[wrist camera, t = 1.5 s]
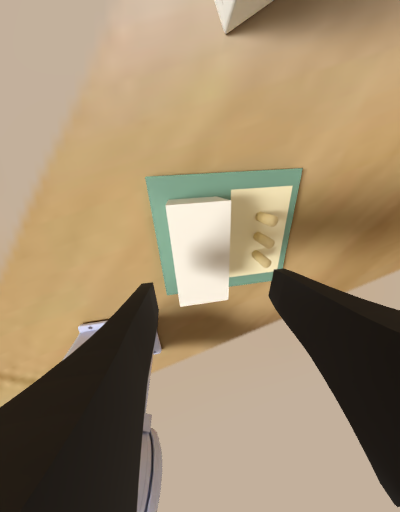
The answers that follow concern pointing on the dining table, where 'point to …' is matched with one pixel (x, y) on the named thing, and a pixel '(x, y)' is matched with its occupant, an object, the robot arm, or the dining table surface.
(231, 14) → the small box
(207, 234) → the block
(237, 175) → the board
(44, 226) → the dining table surface
